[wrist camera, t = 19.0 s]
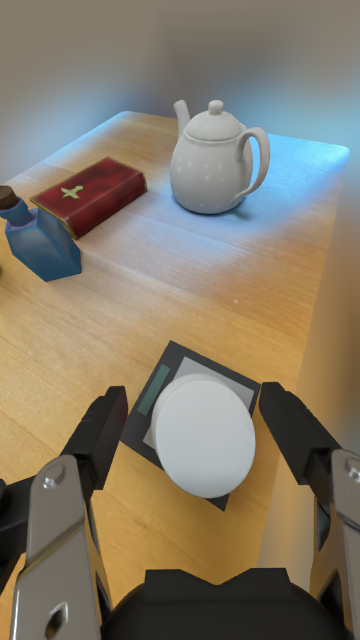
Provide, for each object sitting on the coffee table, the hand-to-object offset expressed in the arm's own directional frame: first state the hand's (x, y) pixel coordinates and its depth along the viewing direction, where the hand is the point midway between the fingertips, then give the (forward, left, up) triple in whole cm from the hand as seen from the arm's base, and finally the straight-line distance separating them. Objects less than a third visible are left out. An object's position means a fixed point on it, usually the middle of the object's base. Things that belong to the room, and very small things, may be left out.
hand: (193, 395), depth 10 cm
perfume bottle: (+32, +3, -13) cm, 34 cm away
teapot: (+29, -32, -13) cm, 45 cm away
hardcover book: (+44, -11, -13) cm, 47 cm away
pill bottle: (-1, +1, -10) cm, 10 cm away
